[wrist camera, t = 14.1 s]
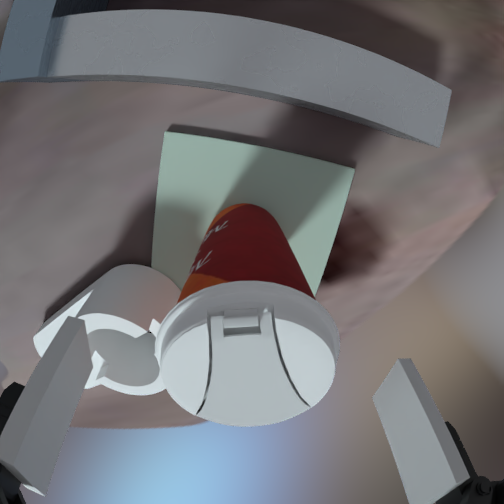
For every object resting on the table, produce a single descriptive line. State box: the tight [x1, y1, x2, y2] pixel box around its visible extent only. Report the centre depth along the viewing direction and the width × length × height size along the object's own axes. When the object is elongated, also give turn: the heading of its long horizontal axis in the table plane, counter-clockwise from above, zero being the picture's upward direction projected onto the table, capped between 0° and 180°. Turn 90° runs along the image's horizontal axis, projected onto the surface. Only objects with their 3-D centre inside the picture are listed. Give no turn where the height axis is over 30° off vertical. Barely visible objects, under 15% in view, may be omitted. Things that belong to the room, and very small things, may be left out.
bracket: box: [33, 264, 181, 395], centre depth 25 cm, size 20×9×7 cm, turn 123°
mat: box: [151, 131, 355, 297], centre depth 24 cm, size 14×14×1 cm
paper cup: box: [155, 203, 340, 427], centre depth 17 cm, size 8×8×14 cm
